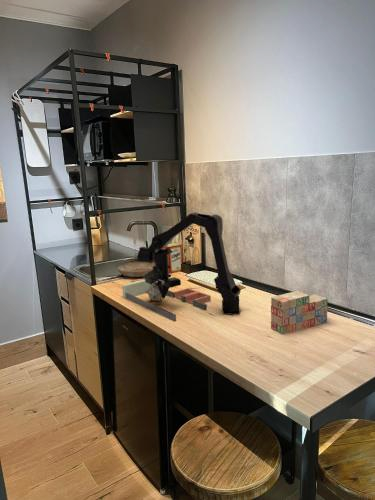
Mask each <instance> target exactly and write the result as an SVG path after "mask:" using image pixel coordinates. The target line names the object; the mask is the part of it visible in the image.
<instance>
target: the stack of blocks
mask: <svg viewBox="0 0 375 500" xmlns="http://www.w3.org/2000/svg"><path fill="white" fill-rule="evenodd" d="M270 304H271V305H270V328H271V330H273V331H275V332H277V333H279V334H280V335H286V334H289V333H293V332H296V331H302V330H303V329H306V328H310V327H315V326H317V325H321V324H324V323H327V322H328V298H327V297H324V296H321V295H318V294H317V293H316V294H311V295H310V294H308V293H303V292H301V291H299V290H296V291H291V292H287V293H283V294H279V295H274V296H271V298H270Z"/></svg>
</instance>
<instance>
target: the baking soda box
mask: <svg viewBox="0 0 375 500" xmlns="http://www.w3.org/2000/svg"><path fill="white" fill-rule="evenodd" d="M166 248H169V249H170V250H172V251H173V252H172V253H170V254H168V265H170V266H171V268H169V274H171V275H172V274H175V273H179V272H182V271H181V264H182V263H184V262H183V259H184V258H183V244H181V243H178V242H177V243H176V242H174V243H169V244H168V245H167V246H165V247H163V248H161V249H166Z"/></svg>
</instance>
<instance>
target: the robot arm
mask: <svg viewBox="0 0 375 500" xmlns="http://www.w3.org/2000/svg"><path fill="white" fill-rule="evenodd" d="M192 225H196V226H199V227H202V228H204V229H205V233H206V235H207V236H208V237H209V239H210V242H211V247H212V250H213V251H212V252H213V255H214V261H215V265H216V271H217V276H216V277H215V278H214V279H213V280H214V281H213V282H214V283H215V289H216V290H217V292H218V294H220V295H221V298H222V299H221V306H222V307H221V310H222V312H223V315H240V313H241V311H240V294H241V288H240V287H239V286H238V285H237V284H236V281H235V279H234V276H233V274H232V272H230V269H229V265H228V260H227V255H226V251H225V247H224V246H225V245H224V241H223V229H224V225H223V218H222V217H221V216H220V215H219V214H212V215H211V214H210V215H209V214H203V213H198V212H191V213H189V214H188V215H187V216H186V217H185V218H183V219H181V220H180V221H179V222H178V223H176V224H175V225H173V226H172V227H170V228H169V229H167V230H166V231H163V232H161V233H159V234H157V235H154V236H153V237H152V238H151V243H150V245H149V246H148V247H146V246H140V247H139V248H138V249H139V250H138V253H137V256H136V257H137V262H143V263H155V266H153V270H152V271H150V272H148V273H147V274H145V275H144V276H143V277H142V278H143V280H144V279H145V281H146V283H149V284H155V285H156V286H158V288H159V291H160V293H161V296H162V298H161V299H165V298H166V297H167V295H166V294H167V292H168V290H169V289H170V288H176V287H178V286H181V285H182V281H181V279H180V278H179V277H175V276H174V277H172V273H171V274H169V268H171V266H170V265H168V254H170V253H172V252H173V251H172V250H170V249H169V248H166V249H162V248H163V247H165V246H167V245H168V244H171V242H172V241H173V240H174V239H175V238H176V236H178V235H180V234H181V233H182V232H184V231H186V230H187V229H188V228H190V227H191V226H192ZM169 291H170V290H169Z"/></svg>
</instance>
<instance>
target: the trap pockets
mask: <svg viewBox="0 0 375 500" xmlns="http://www.w3.org/2000/svg"><path fill="white" fill-rule="evenodd" d="M173 292H174V293H175V298H174V299H177V300H180V301H181V296H185V299H186V302H185V303H187V304H190V305H192V306H193V300H196V301H199V302H201V303H204V304H206V303H207V302H211V300H212V299H211V295H210V294H207V293H205V292H201V291H199V290H195V289H193V288H189V287H187V288H183V289H180V290H176V291H173Z"/></svg>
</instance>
